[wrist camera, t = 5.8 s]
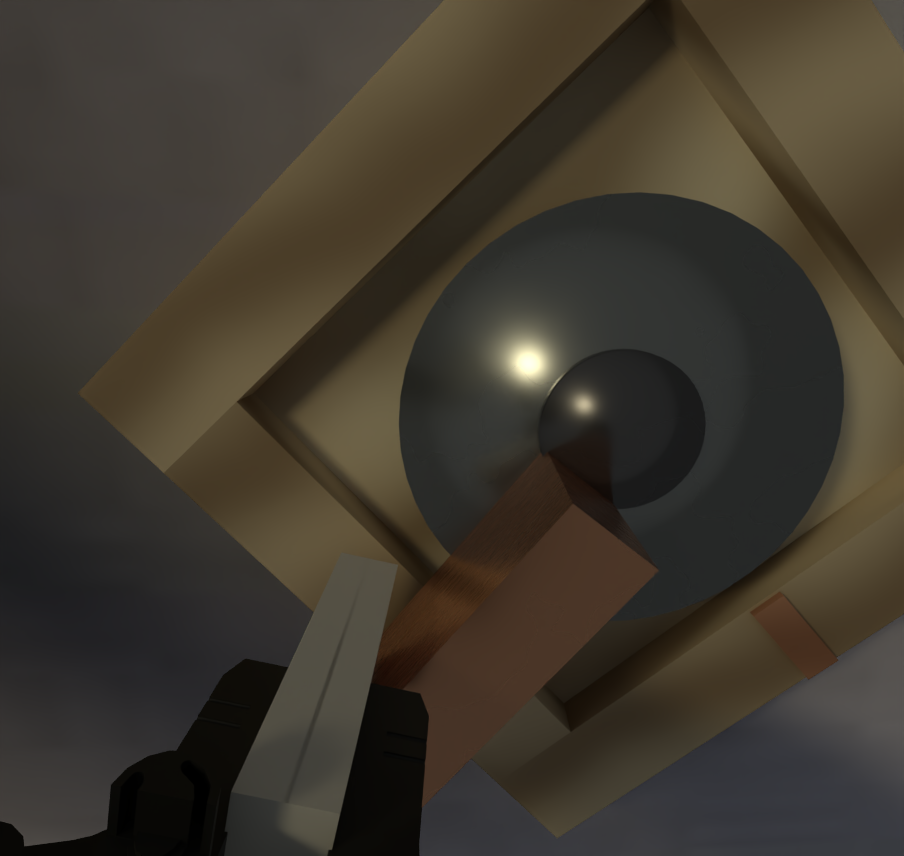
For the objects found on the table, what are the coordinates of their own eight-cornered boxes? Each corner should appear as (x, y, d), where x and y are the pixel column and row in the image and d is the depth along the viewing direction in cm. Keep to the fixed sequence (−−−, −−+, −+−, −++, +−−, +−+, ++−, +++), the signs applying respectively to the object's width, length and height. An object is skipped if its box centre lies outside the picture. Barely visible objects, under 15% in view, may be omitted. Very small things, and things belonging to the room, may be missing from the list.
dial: (586, 105, 13) (663, -13, 8) (890, 383, 15) (1119, 434, 10) (226, 577, 17) (121, 706, 12) (502, 762, 18) (516, 949, 13)
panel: (139, 376, 17) (72, 394, 14) (651, -160, 13) (703, -285, 10) (544, 765, 20) (558, 844, 18) (1043, 425, 17) (1163, 453, 14)
